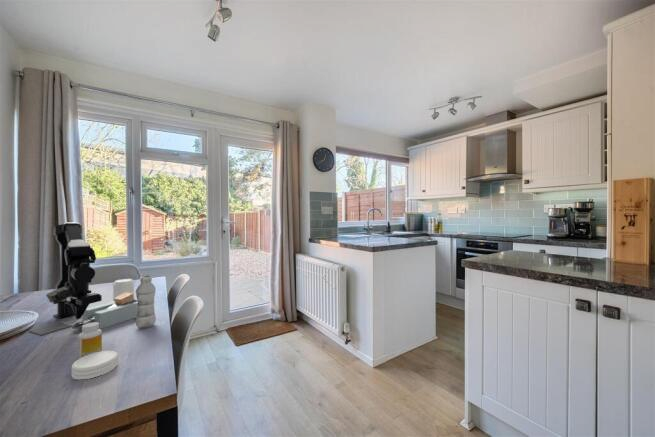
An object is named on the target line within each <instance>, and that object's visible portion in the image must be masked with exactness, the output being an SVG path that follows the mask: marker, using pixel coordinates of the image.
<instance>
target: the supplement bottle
mask: <svg viewBox="0 0 655 437" xmlns="http://www.w3.org/2000/svg"><path fill="white" fill-rule="evenodd" d="M98 328H99V323H98V322H93V323H88V324H85V325H83V326H82V328H81V331H82V332H80V333H79V335H78V359H80V358H82V357H84V356H86V355H89V354H92V353H96V352H101V351H103V350H102V348H103V347H102V340H103V337H102V335H103V331H102V329H98Z"/></svg>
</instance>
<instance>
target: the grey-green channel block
mask: <svg viewBox="0 0 655 437" xmlns="http://www.w3.org/2000/svg"><path fill="white" fill-rule="evenodd" d="M114 304H116V303H115V301H113V300H112V301H110V302H107V303H106V302H105V303H102V304H98V305H97V304H96V305H94V306H90V307H89V306H88V307H87V309H86V310H85V312H84V314H83V315H82V320H81V321H83V320H84V319H86V318H88V317H90V316H92V315H94V321H93V322H98V323H99V328H98V329H101V330H102V329H104V328H107V327H110V326H114V325H116V324H120V323H123V322H126V321H128V320H129V321H130V320H133V319H136V317H137V310H138V304H137V297H134V300H133V301H131V302H129V303H127V304H125V305H119V306H116V307H112V308H108V307H110V306H112V305H114ZM106 308H108V309H106ZM93 322H92V323H93Z"/></svg>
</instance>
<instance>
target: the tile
mask: <svg viewBox="0 0 655 437" xmlns="http://www.w3.org/2000/svg"><path fill="white" fill-rule="evenodd" d="M134 298H135V295H134V296H133V293H127V292H125V293H123V294H121V295H119V296H117V297H115V298H114V301H115V303H117V304H124V303H126V302H128V301H130V300H132V299H134Z"/></svg>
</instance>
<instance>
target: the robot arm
mask: <svg viewBox="0 0 655 437" xmlns="http://www.w3.org/2000/svg"><path fill="white" fill-rule="evenodd" d="M82 226H83V225H81V224H80V222H64V223H63V222H62V224H58V225H55V226H54V227H53V233H52V234H53V236H54V237H55V240H56V242H57V243H58V244H59V245H60V279H58V281H57V283H56V284H55V289H54V290H53V291H50V292H49V293H47V294H46V295H45V296H46V297H47V299H48V302H50V303H51V304H53V305H57V306H56V307H57V308H56V311H57V314H53V315H52V316H53V317H55V318H58V319H64V318H67V317H72V316H74V317H75V319H76V320H80V319H82V318H83V314H84V312H85V310H86V309H87V308H89V305H90V304H94V303H99V302H102V299H103V296H102V294H100V293H96V292H92V290H91V289H90V287H89V284H90V283H92V280H93V279H94V277H95V276H96V270H95V269H94V268H93V267H92V266H91V265H90V264H95V263H96V260H97V257H96V252H95V250H94V249H93V247H91V245H90V243H89V242H87V241H85V240H84V238H83V236H82V234H83V227H82Z"/></svg>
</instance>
